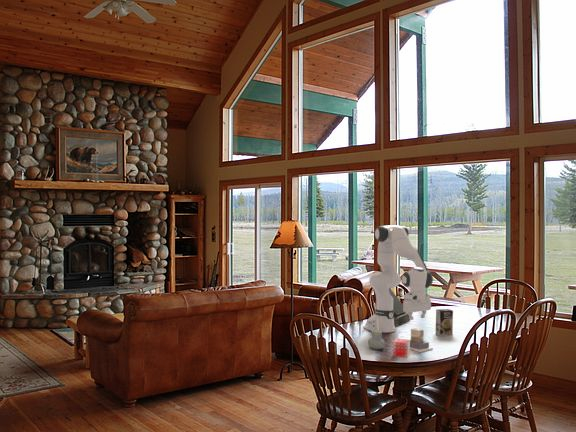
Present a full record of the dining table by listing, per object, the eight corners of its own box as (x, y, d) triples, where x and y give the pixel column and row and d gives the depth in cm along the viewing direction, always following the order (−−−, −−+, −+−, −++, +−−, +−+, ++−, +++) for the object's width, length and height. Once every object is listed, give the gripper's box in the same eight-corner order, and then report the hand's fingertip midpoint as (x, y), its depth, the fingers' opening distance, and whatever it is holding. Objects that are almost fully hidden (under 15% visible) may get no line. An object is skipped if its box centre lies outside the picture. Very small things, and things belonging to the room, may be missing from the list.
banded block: (418, 348, 313) (418, 330, 313) (410, 345, 318) (411, 328, 318) (423, 347, 316) (423, 329, 316) (415, 344, 321) (415, 328, 320)
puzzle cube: (407, 357, 297) (407, 342, 297) (393, 355, 300) (393, 341, 300) (409, 353, 305) (409, 339, 305) (395, 352, 308) (395, 338, 307)
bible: (398, 326, 377) (398, 290, 377) (372, 323, 388) (372, 288, 388) (410, 321, 397) (410, 286, 396) (384, 317, 407) (385, 284, 407)
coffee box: (440, 336, 349) (440, 310, 349) (435, 333, 355) (435, 309, 355) (453, 335, 351) (453, 310, 351) (447, 333, 357) (447, 308, 357)
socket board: (401, 346, 320) (401, 340, 320) (414, 344, 326) (414, 337, 326) (419, 352, 308) (419, 345, 308) (432, 349, 314) (432, 342, 314)
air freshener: (367, 346, 321) (367, 329, 320) (381, 346, 321) (381, 329, 321) (371, 351, 310) (371, 333, 310) (385, 350, 310) (386, 333, 310)
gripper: (425, 293, 325) (425, 316, 325) (401, 295, 314) (400, 319, 314) (434, 294, 320) (433, 318, 320) (409, 297, 308) (409, 321, 309)
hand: (417, 318), depth 317 cm, fingers open, 8 cm apart
